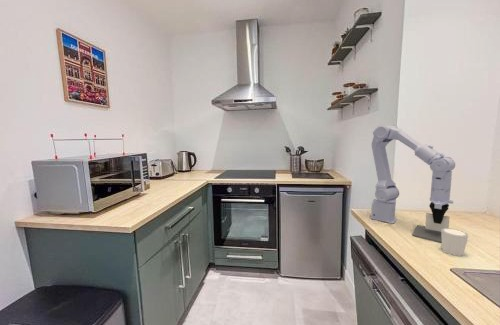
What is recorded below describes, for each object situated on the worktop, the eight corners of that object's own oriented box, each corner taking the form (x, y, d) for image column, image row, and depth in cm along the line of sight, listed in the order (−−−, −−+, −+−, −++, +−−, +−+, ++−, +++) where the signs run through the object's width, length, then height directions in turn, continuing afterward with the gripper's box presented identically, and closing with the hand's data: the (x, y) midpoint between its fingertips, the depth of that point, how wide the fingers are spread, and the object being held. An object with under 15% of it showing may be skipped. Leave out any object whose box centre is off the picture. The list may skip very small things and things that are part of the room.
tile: (425, 228, 91) (426, 214, 90) (425, 227, 92) (426, 212, 92) (448, 233, 86) (449, 218, 86) (448, 231, 88) (449, 216, 87)
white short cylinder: (469, 258, 73) (471, 238, 72) (441, 253, 76) (443, 233, 75) (463, 249, 78) (465, 230, 78) (437, 244, 82) (439, 226, 81)
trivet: (412, 235, 89) (412, 234, 89) (416, 226, 99) (416, 224, 99) (456, 246, 80) (456, 245, 80) (457, 234, 90) (457, 233, 90)
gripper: (454, 193, 79) (450, 230, 81) (454, 186, 90) (451, 219, 91) (428, 190, 84) (425, 225, 86) (432, 184, 95) (429, 215, 96)
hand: (437, 222), depth 89 cm, fingers closed on tile, 2 cm apart
